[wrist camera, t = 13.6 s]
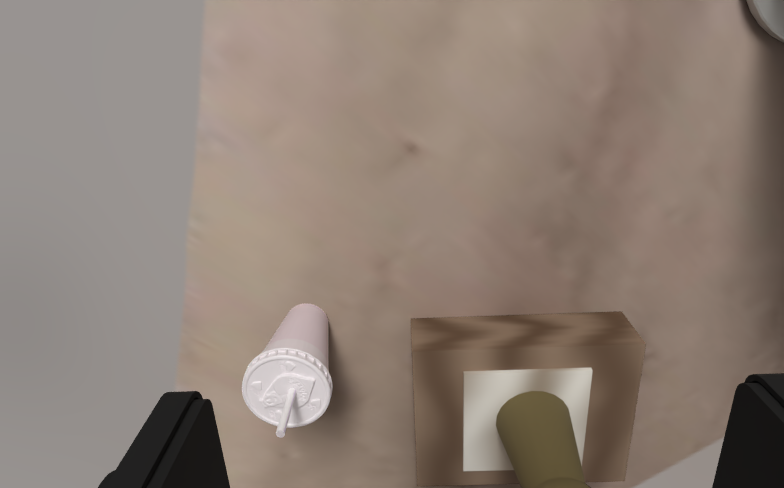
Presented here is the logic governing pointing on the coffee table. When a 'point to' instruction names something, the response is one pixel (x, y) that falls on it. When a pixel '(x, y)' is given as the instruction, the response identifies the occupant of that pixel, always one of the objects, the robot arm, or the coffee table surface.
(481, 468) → the pedestal
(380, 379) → the coffee table surface
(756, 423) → the robot arm
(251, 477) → the coffee table surface
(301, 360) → the smoothie
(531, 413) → the cork
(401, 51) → the coffee table surface
